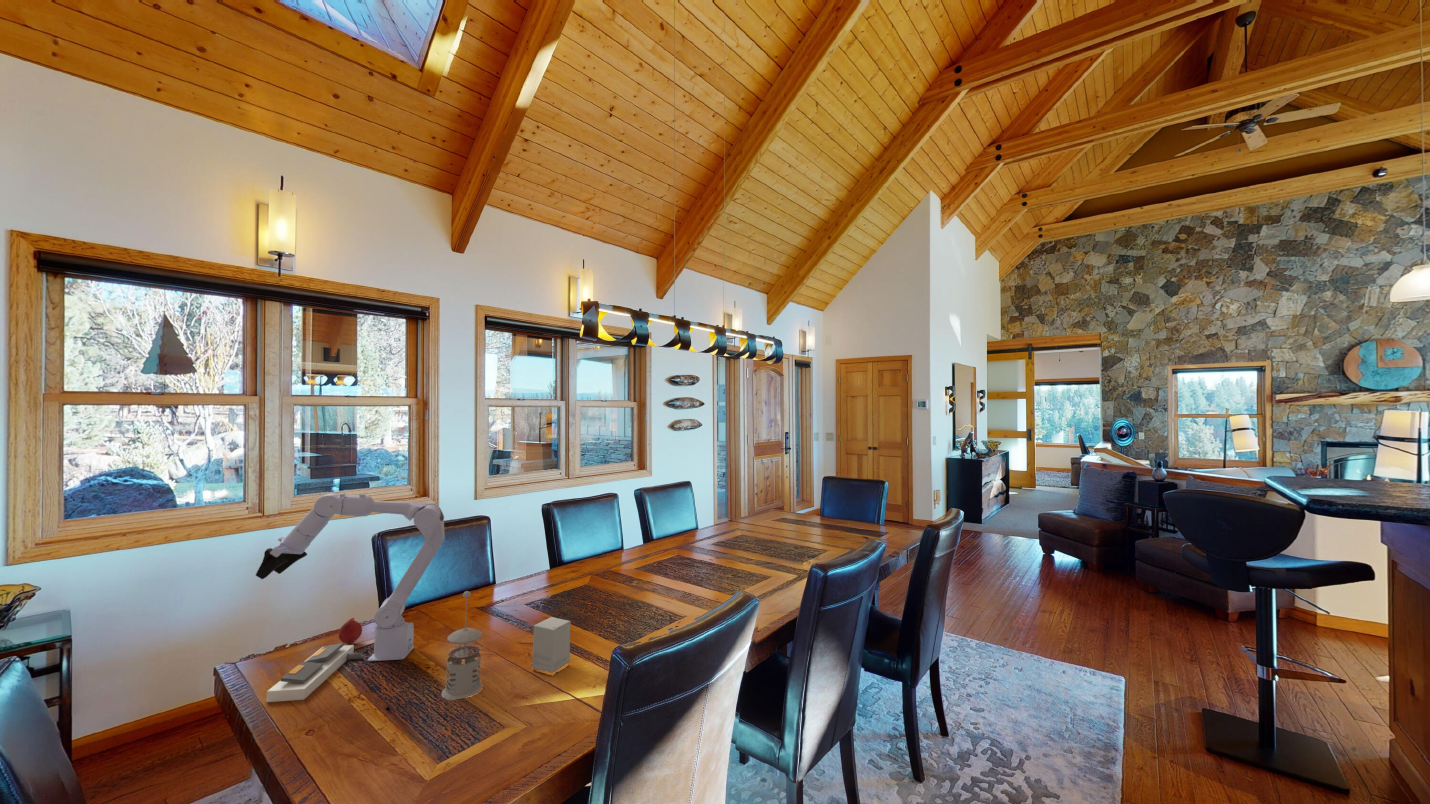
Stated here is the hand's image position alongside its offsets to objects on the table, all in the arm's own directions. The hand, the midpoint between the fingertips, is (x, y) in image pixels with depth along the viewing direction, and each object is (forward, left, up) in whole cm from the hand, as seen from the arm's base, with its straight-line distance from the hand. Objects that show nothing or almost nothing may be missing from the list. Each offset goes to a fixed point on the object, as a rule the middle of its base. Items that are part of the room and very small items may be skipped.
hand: (268, 574), depth 142 cm
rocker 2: (-15, 0, -22) cm, 27 cm away
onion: (-15, -14, -26) cm, 33 cm away
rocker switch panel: (-17, +6, -26) cm, 31 cm away
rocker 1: (-15, +11, -22) cm, 29 cm away
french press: (-55, +18, -26) cm, 63 cm away
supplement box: (-76, +10, -26) cm, 81 cm away
